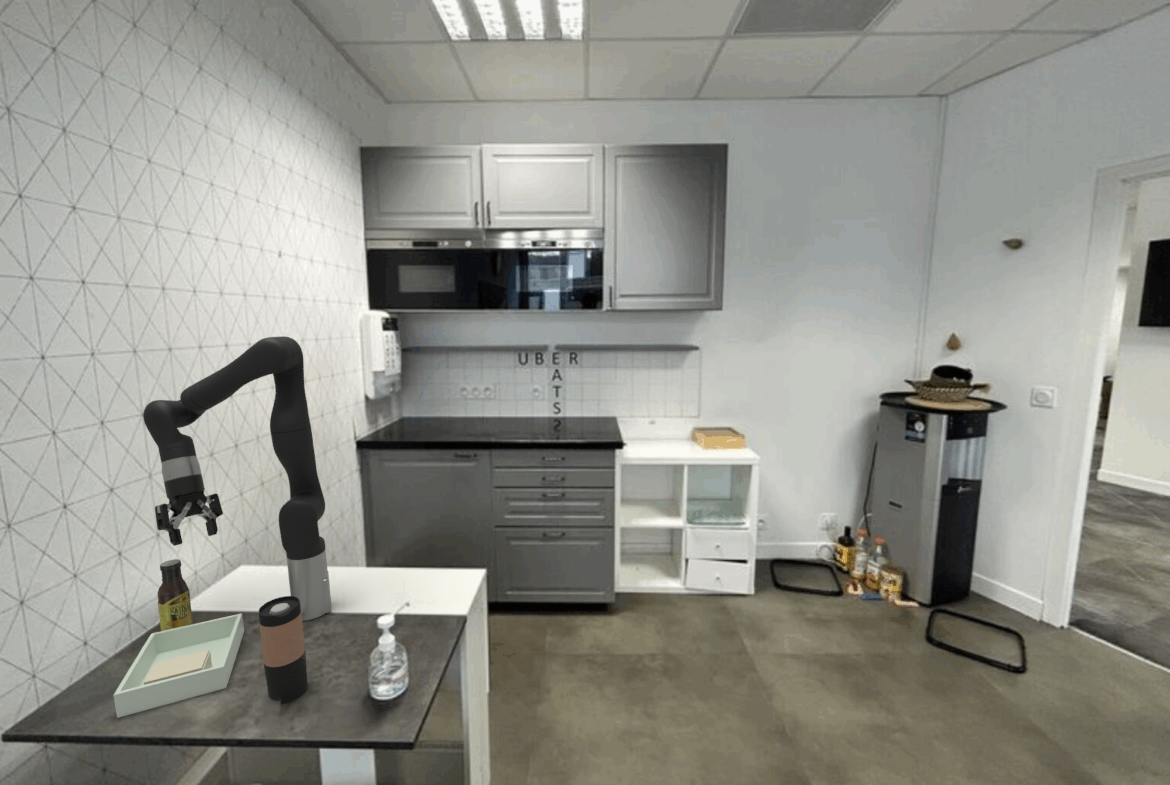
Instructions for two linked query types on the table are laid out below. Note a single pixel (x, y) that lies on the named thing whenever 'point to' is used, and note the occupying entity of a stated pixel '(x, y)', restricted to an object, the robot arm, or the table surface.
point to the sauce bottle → (173, 597)
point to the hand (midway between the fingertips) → (196, 539)
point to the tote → (179, 642)
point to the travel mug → (283, 648)
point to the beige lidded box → (179, 666)
